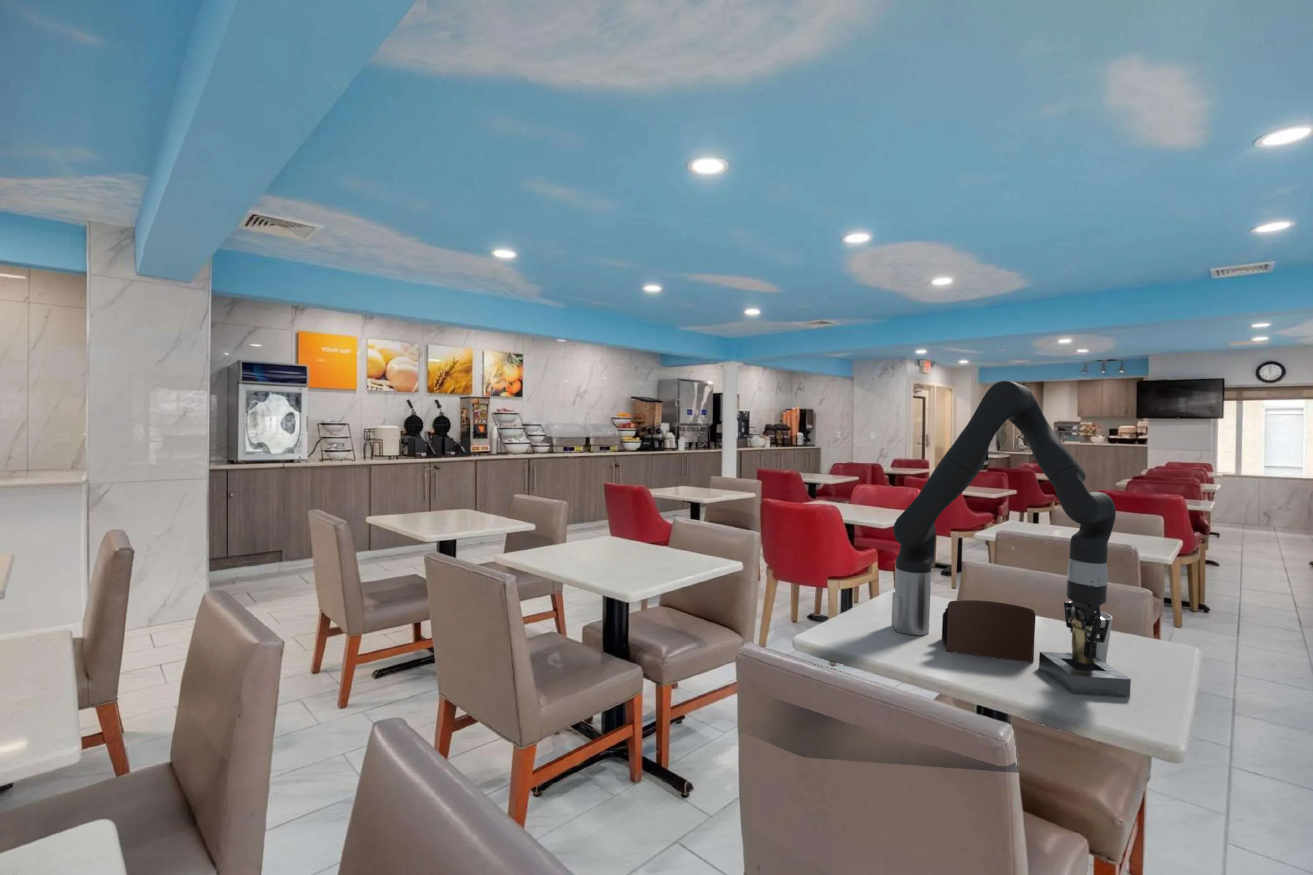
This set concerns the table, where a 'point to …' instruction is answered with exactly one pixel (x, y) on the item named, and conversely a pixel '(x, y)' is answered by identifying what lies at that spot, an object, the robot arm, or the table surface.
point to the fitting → (1079, 643)
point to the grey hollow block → (1084, 675)
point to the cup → (1103, 647)
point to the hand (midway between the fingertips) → (1083, 653)
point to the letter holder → (989, 629)
